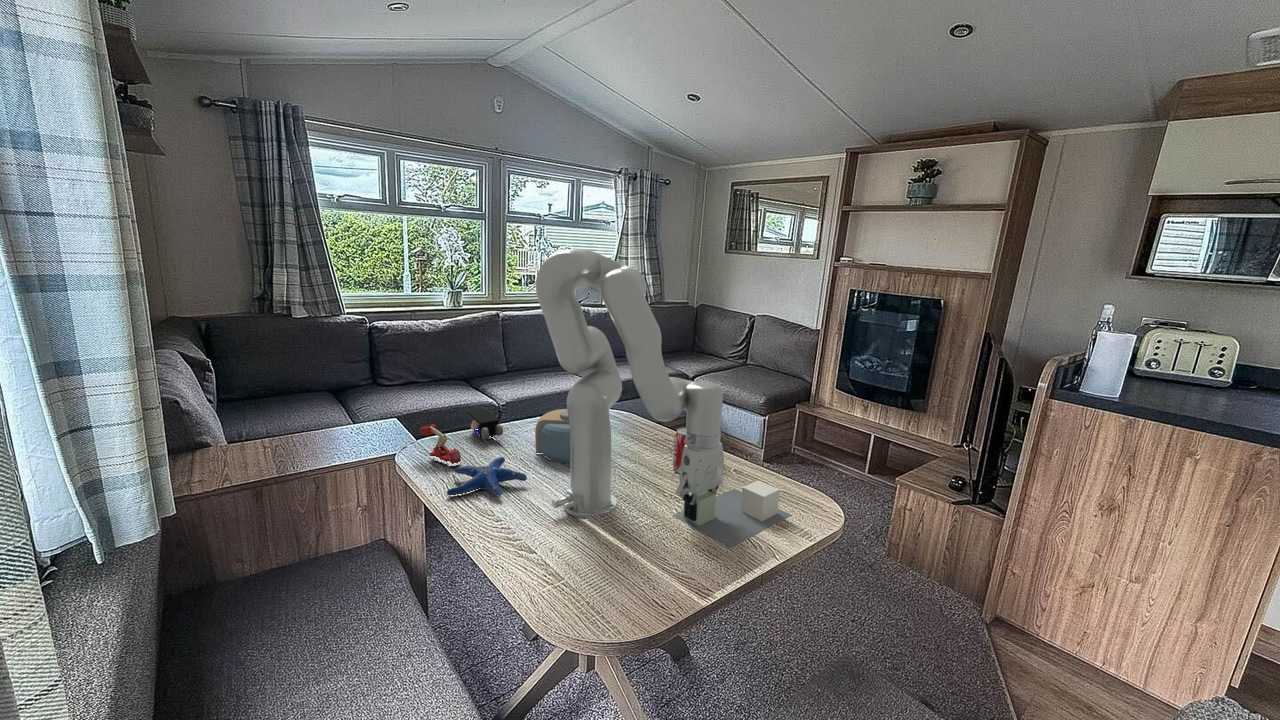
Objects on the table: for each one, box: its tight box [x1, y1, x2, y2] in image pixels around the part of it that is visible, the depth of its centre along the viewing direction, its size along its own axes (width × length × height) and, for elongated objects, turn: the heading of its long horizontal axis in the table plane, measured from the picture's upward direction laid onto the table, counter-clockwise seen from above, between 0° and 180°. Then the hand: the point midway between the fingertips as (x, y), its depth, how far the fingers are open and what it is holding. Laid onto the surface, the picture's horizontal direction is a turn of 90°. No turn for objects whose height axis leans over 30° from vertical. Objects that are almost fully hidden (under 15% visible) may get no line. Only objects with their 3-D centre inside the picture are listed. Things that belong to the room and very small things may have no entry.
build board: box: [672, 480, 792, 549], centre depth 119 cm, size 22×17×7 cm
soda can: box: [672, 426, 686, 474], centre depth 144 cm, size 7×7×12 cm
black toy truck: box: [467, 408, 504, 440], centre depth 167 cm, size 7×8×15 cm
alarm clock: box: [534, 408, 570, 463], centre depth 157 cm, size 19×20×12 cm
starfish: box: [446, 456, 528, 497], centre depth 132 cm, size 19×19×5 cm
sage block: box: [682, 490, 717, 526], centre depth 118 cm, size 5×5×6 cm
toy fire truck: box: [419, 424, 462, 464], centre depth 147 cm, size 3×14×10 cm, turn 58°
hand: (698, 513), depth 118 cm, fingers closed on sage block, 4 cm apart
